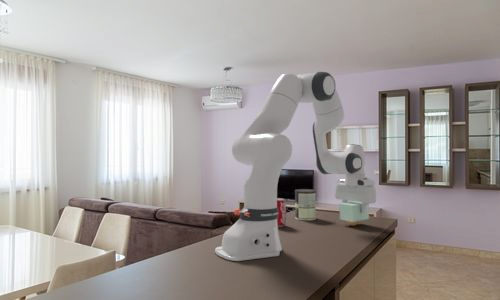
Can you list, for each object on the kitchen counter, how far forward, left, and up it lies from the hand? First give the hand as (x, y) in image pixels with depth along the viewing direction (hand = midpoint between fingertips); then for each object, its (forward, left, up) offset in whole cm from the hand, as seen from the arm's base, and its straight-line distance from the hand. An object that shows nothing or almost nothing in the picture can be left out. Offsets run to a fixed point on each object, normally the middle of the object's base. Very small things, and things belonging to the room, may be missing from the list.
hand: (354, 211), depth 153 cm
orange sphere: (-2, 0, -4) cm, 4 cm away
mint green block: (0, 0, -3) cm, 3 cm away
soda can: (-30, +18, -6) cm, 35 cm away
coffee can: (-8, +24, -6) cm, 26 cm away
